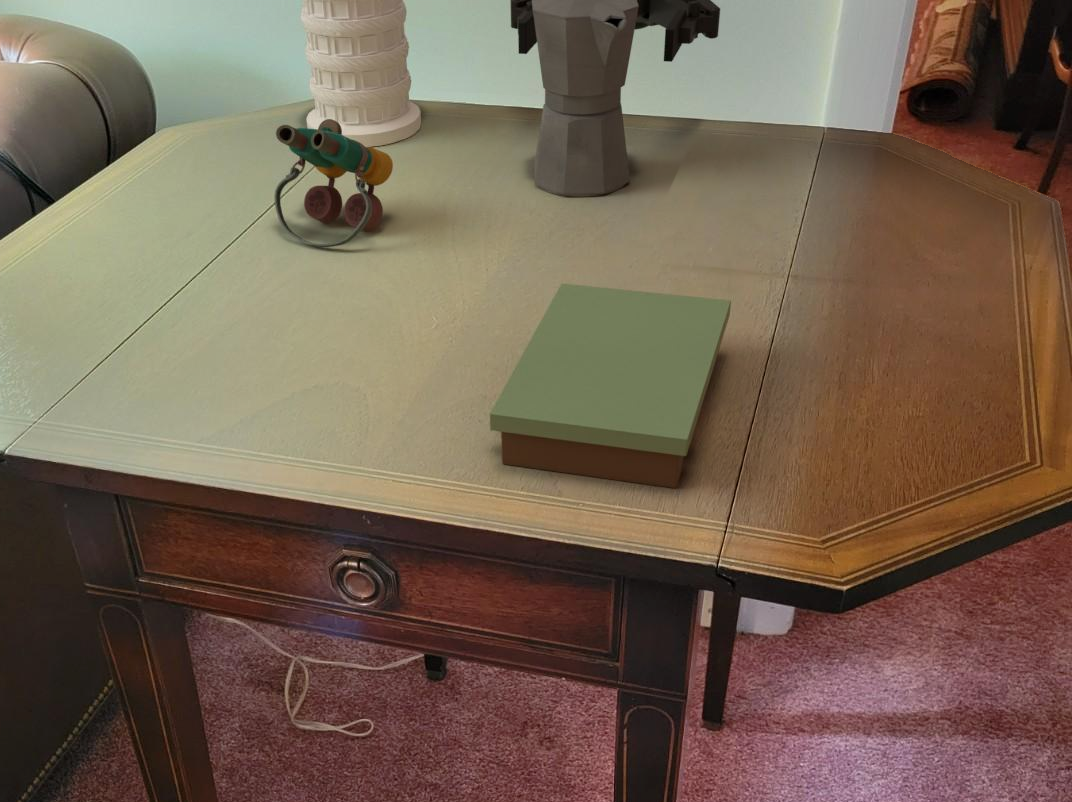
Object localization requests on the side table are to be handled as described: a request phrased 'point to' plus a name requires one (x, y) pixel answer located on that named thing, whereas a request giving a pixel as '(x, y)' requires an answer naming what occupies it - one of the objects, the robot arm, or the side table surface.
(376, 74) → the decorative container
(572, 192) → the coffeepot
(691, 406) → the box with lid
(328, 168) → the binoculars
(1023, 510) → the side table surface
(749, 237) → the side table surface
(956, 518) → the side table surface
